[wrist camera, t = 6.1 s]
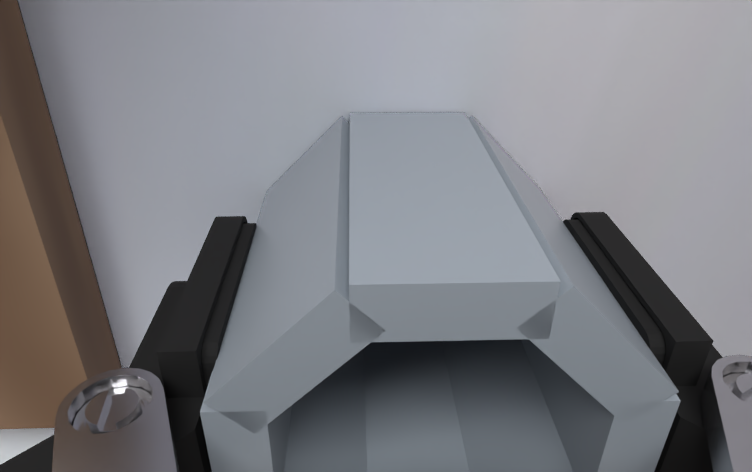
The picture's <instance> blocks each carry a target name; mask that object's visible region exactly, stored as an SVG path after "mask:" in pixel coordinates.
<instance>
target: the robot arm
mask: <svg viewBox="0 0 752 472" xmlns="http://www.w3.org/2000/svg"><path fill="white" fill-rule="evenodd" d="M563 223H564V224H565V226H566V227H567V229H568V230H569V232H570V233H571V235H572V236H573V237H574V239H575V240H576V242H577V243H578V245H579V246H580V248H581V249H582V251H583V252H584V254H585V255H586V257H587V258H588V259H589V261H590V262H591V264H592V265H593V267H594V268H595V270H596V271H597V273H598V274H599V276H600V277H601V278H602V280H603V281H604V283H605V284H606V286H607V287H608V289H609V290H610V292H611V293H612V295H613V296H614V298H615V299H616V300H617V302H618V303H619V305H620V306H621V308H622V309H623V311H624V312H625V314H626V315H627V317H628V318H629V319H630V321H631V322H632V324H633V325H634V327H635V328H636V330H637V331H638V333H639V334H640V336H641V337H642V339H643V340H644V341H645V343H646V344H647V346H648V347H649V349H650V350H651V351H652V353H653V354H654V356H655V357H656V359H657V360H658V362H659V363H660V365H661V366H662V367H663V369H664V370H665V372H666V373H667V375H668V376H669V378H670V379H671V381H672V382H673V384H674V385H675V386H676V388H677V389H678V391H679V392H678V393H676V394H677V396H678V397H679V399H680V400H681V402H680V404H679V407H678V410H677V412H676V415H675V418H674V420H673V423H672V426H671V428H670V431H669V434H668V436H667V439H666V442H665V444H664V447H663V450H662V452H661V455H660V458H659V460H658V463H657V466H656V468H655V471H654V472H752V356H745V355H732V356H725V357H722V356H721V355H720V354H719V353H718V351H717V350H716V349H715V348H714V347H713V345H712V343H713V340H712V339H711V338H710V336H709V335H708V334H707V333H706V332H705V330H704V329H703V328H702V327H701V326H700V324H699V323H698V322H697V321H696V320H695V319H694V317H693V316H692V315H691V314H690V313H689V311H688V310H687V309H686V308H685V307H684V306H683V304H682V303H681V302H680V301H679V300H678V298H677V297H676V296H675V295H674V294H673V292H672V291H671V290H670V289H669V288H668V287H667V285H666V284H665V283H664V282H663V281H662V279H661V278H660V277H659V276H658V275H657V274H656V272H655V271H654V270H653V269H652V268H651V266H650V265H649V264H648V263H647V262H646V260H645V259H644V258H643V257H642V256H641V255H640V253H639V252H638V251H637V250H636V249H635V247H634V246H633V245H632V244H631V243H630V241H629V240H628V239H627V238H626V237H625V236H624V234H623V233H622V232H621V231H620V230H619V228H618V227H617V226H616V225H615V224H614V223H613V221H612V220H611V219H610V218H609V217H608V215H607V214H605V213H604V212H585V213H574V214H573V215H572V217H571V219H570V220H564V221H563ZM256 227H257V225H256V223H247V220H246V217H245V216H236V217H216V218H215V219H214V222H213V224H212V226H211V228H210V231H209V233H208V235H207V238H206V240H205V242H204V244H203V247H202V249H201V251H200V253H199V256H198V258H197V260H196V263H195V265H194V267H193V269H192V272H191V274H190V276H189V278H188V281H174V282H172V283H171V284H170V285H169V287H168V289H167V291H166V293H165V295H164V297H163V299H162V301H161V303H160V305H159V307H158V309H157V311H156V313H155V315H154V317H153V319H152V322H151V324H150V326H149V328H148V330H147V332H146V334H145V336H144V338H143V340H142V342H141V344H140V346H139V348H138V350H137V352H136V355H135V357H134V359H133V361H132V363H131V365H130V367H129V368H121V369H115V370H109V371H106V372H103V373H101V374H98V375H95V376H93V377H91V378H89V379H87V380H86V381H84V382H82V383H80V384H79V385H78V386H76V387H75V388H74V389H73V390H72V391H71V392H69V393H68V394H67V395H66V397H65V398H64V399H63V401H62V402H61V404H60V405H59V407H58V410H57V414H56V417H55V430H54V435H53V436H51V437H49V438H47V439H46V440H44V441H42V442H40V443H39V444H37V445H35V446H33V447H31V448H30V449H28V450H26V451H24V452H22V453H21V454H19V455H17V456H15V457H14V458H12V459H10V460H8V461H6V462H5V463H3V464H1V465H0V472H212V470H211V465H210V460H209V455H208V450H207V445H206V440H205V435H204V431H203V426H202V421H201V416H200V410H201V407H202V403H203V400H204V397H205V393H206V390H207V387H208V383H209V380H210V377H211V374H212V371H213V369H214V366H215V363H216V360H217V358H218V355H219V351H220V348H221V344H222V341H223V338H224V334H225V331H226V328H227V324H228V321H229V318H230V314H231V311H232V307H233V304H234V301H235V297H236V294H237V291H238V287H239V284H240V281H241V277H242V274H243V271H244V267H245V264H246V260H247V257H248V254H249V250H250V247H251V244H252V240H253V237H254V234H255V230H256Z"/></svg>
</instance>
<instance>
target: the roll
mask: <svg viewBox="0 0 752 472" xmlns="http://www.w3.org/2000/svg"><path fill="white" fill-rule="evenodd" d="M256 225H257V227H256V230H255V234H254V237H253V240H252V244H251V247H250V250H249V254H248V257H247V260H246V264H245V267H244V271H243V274H242V277H241V281H240V284H239V287H238V291H237V294H236V297H235V301H234V304H233V307H232V311H231V314H230V318H229V321H228V324H227V328H226V331H225V334H224V338H223V341H222V344H221V348H220V351H219V355H218V358H217V360H216V363H215V366H214V369H213V371H212V374H211V377H210V380H209V383H208V387H207V390H206V393H205V397H204V400H203V403H202V407H201V410H200V416H201V421H202V426H203V431H204V435H205V440H206V445H207V450H208V455H209V460H210V465H211V470H212V472H654V471H655V468H656V466H657V463H658V460H659V458H660V455H661V452H662V450H663V447H664V444H665V442H666V439H667V436H668V434H669V431H670V428H671V426H672V423H673V420H674V418H675V415H676V412H677V410H678V407H679V404H680V402H681V400H680V399H679V397H678V396H677V394H676V393H678V392H679V391H678V389H677V388H676V386H675V385H674V384H673V382H672V381H671V379H670V378H669V376H668V375H667V373H666V372H665V370H664V369H663V367H662V366H661V365H660V363H659V362H658V360H657V359H656V357H655V356H654V354H653V353H652V351H651V350H650V349H649V347H648V346H647V344H646V343H645V341H644V340H643V339H642V337H641V336H640V334H639V333H638V331H637V330H636V328H635V327H634V325H633V324H632V322H631V321H630V319H629V318H628V317H627V315H626V314H625V312H624V311H623V309H622V308H621V306H620V305H619V303H618V302H617V300H616V299H615V298H614V296H613V295H612V293H611V292H610V290H609V289H608V287H607V286H606V284H605V283H604V281H603V280H602V278H601V277H600V276H599V274H598V273H597V271H596V270H595V268H594V267H593V265H592V264H591V262H590V261H589V259H588V258H587V257H586V255H585V254H584V252H583V251H582V249H581V248H580V246H579V245H578V243H577V242H576V240H575V239H574V237H573V236H572V235H571V233H570V232H569V230H568V229H567V227H566V226H565V224H564V223H563V221H562V220H561V218H560V217H559V215H558V214H557V212H556V211H555V209H554V208H553V207H552V205H551V204H550V202H549V201H548V199H547V198H546V196H545V195H544V193H543V192H542V190H541V189H540V188H539V187H538V186H537V185H536V183H535V182H534V181H533V180H532V179H531V178H530V177H529V176H528V175H527V174H526V173H525V172H524V171H523V169H522V168H521V167H520V166H519V165H518V164H517V163H516V162H515V161H514V160H513V159H512V158H511V157H510V156H509V154H508V153H507V152H506V151H505V150H504V149H503V148H502V147H501V146H500V145H499V144H498V143H497V142H496V140H495V139H494V138H493V137H492V136H491V135H490V134H489V133H488V132H487V131H486V130H485V129H484V128H483V127H482V125H481V124H480V123H479V122H478V121H477V120H476V119H475V118H474V117H473V116H471V117H470V118H469V119H468V117H467V115H466V114H465V112H419V113H350V123H349V122H348V121H347V120H345V119H344V118H343V117H342V116H341V117H340V118H339V119H338V120H337V121H336V122H335V123H334V124H333V125H332V126H331V127H330V128H329V129H328V130H327V131H326V132H325V133H324V134H323V135H322V136H321V137H320V138H319V139H318V140H317V141H316V142H315V143H314V144H313V145H312V146H311V147H310V148H309V149H308V150H307V151H306V152H305V153H304V154H303V155H302V156H301V157H300V158H299V159H298V160H297V161H296V162H295V163H294V164H293V165H292V166H291V167H290V168H289V169H288V170H287V171H286V172H285V173H284V174H283V175H282V176H281V177H280V178H279V179H278V180H277V181H276V182H275V183H274V184H273V185H272V186H271V187H270V188H269V189H268V190H267V192H266V196H265V198H264V201H263V204H262V207H261V211H260V214H259V217H258V221H257V224H256Z"/></svg>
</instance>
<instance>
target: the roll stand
mask: <svg viewBox="0 0 752 472" xmlns="http://www.w3.org/2000/svg"><path fill="white" fill-rule="evenodd" d="M115 369H121V364H120V361H119V357H118V354H117V350H116V347H115V343H114V340H113V336H112V333H111V329H110V326H109V322H108V319H107V315H106V312H105V308H104V305H103V301H102V298H101V294H100V291H99V287H98V284H97V280H96V276H95V273H94V269H93V266H92V262H91V259H90V255H89V252H88V248H87V245H86V241H85V238H84V234H83V231H82V227H81V224H80V220H79V217H78V213H77V210H76V206H75V203H74V199H73V196H72V192H71V189H70V185H69V181H68V178H67V174H66V171H65V167H64V164H63V160H62V157H61V153H60V150H59V146H58V143H57V139H56V136H55V132H54V129H53V125H52V122H51V118H50V115H49V111H48V108H47V104H46V101H45V97H44V94H43V90H42V86H41V83H40V79H39V76H38V72H37V69H36V65H35V62H34V58H33V55H32V51H31V48H30V44H29V41H28V37H27V34H26V30H25V27H24V23H23V20H22V16H21V13H20V9H19V6H18V2H17V0H0V429H21V428H55V417H56V414H57V410H58V407H59V405H60V404H61V402H62V401H63V399H64V398H65V397H66V395H67V394H68V393H69V392H71V391H72V390H73V389H74V388H75V387H76V386H78V385H79V384H80V383H82V382H84V381H86V380H87V379H89V378H91V377H93V376H95V375H98V374H101V373H103V372H106V371H109V370H115Z"/></svg>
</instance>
